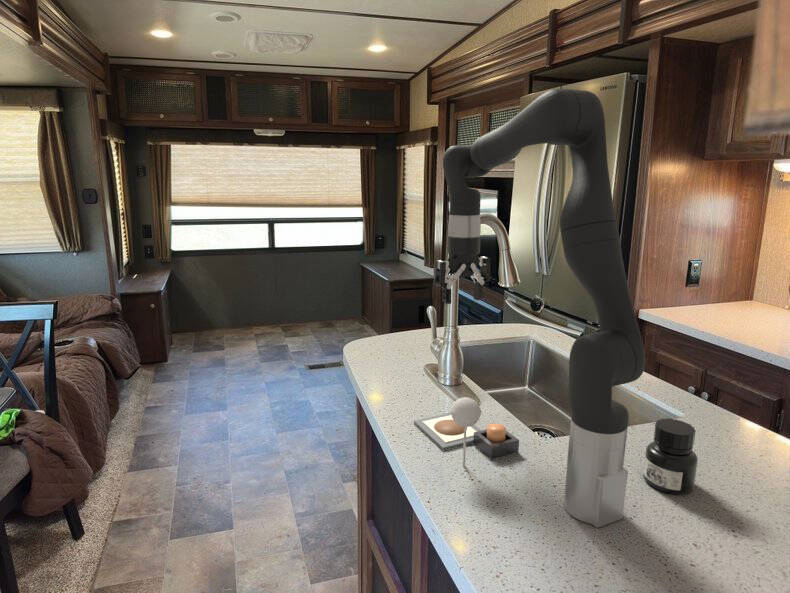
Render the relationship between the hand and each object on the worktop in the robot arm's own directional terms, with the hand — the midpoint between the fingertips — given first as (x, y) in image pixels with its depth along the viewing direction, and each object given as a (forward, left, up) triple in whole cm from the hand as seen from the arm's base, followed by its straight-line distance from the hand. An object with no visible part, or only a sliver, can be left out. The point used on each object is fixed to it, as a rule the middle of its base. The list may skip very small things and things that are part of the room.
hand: (462, 301), depth 128 cm
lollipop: (-22, +13, -29) cm, 39 cm away
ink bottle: (-44, -20, -29) cm, 57 cm away
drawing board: (-8, +8, -29) cm, 31 cm away
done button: (-19, +3, -27) cm, 33 cm away
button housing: (-19, +3, -29) cm, 35 cm away
